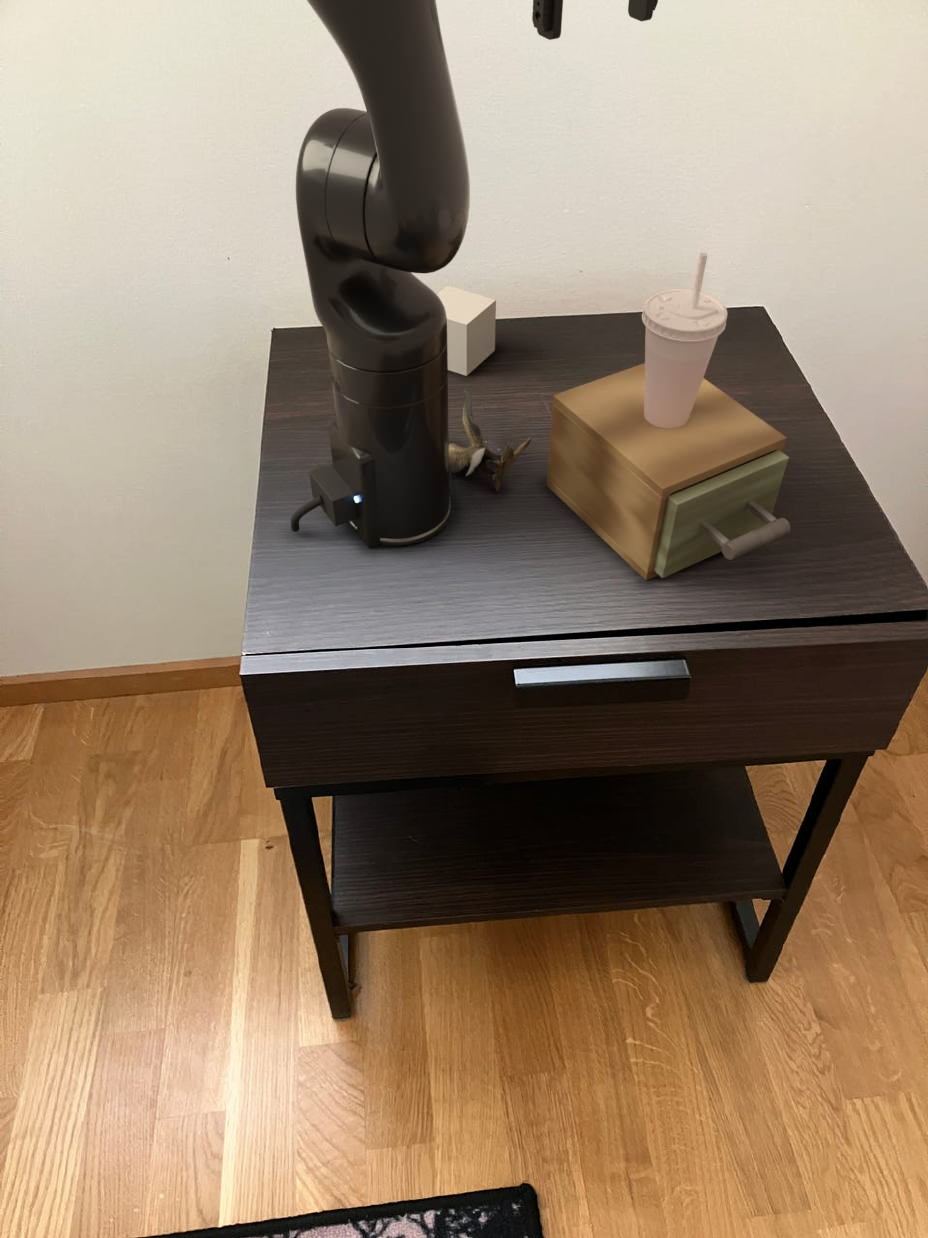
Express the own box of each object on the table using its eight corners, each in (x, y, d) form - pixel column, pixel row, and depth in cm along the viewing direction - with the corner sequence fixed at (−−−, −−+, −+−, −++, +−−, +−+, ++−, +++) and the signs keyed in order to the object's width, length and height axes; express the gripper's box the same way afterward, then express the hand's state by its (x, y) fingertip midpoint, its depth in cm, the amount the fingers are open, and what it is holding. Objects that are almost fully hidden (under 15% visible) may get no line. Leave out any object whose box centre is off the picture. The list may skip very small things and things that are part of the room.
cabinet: (760, 528, 85) (787, 437, 78) (645, 580, 80) (663, 488, 73) (654, 442, 94) (670, 353, 87) (546, 485, 89) (553, 394, 82)
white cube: (419, 360, 104) (417, 309, 100) (448, 335, 108) (447, 285, 103) (466, 376, 102) (466, 324, 98) (495, 350, 105) (496, 299, 101)
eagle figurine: (541, 455, 90) (473, 402, 93) (525, 425, 84) (453, 369, 87) (488, 516, 91) (422, 462, 94) (468, 491, 84) (398, 433, 87)
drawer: (802, 559, 81) (827, 485, 75) (695, 610, 77) (714, 535, 71) (667, 449, 91) (680, 377, 86) (567, 489, 87) (574, 416, 82)
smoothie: (703, 442, 77) (740, 278, 67) (624, 433, 78) (648, 269, 68) (706, 398, 82) (741, 237, 72) (630, 390, 83) (654, 230, 72)
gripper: (669, -272, 66) (638, 1, 78) (493, -261, 61) (488, 29, 73) (744, -263, 62) (699, 25, 73) (560, -250, 57) (544, 57, 68)
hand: (594, 27), depth 73 cm, fingers open, 8 cm apart
